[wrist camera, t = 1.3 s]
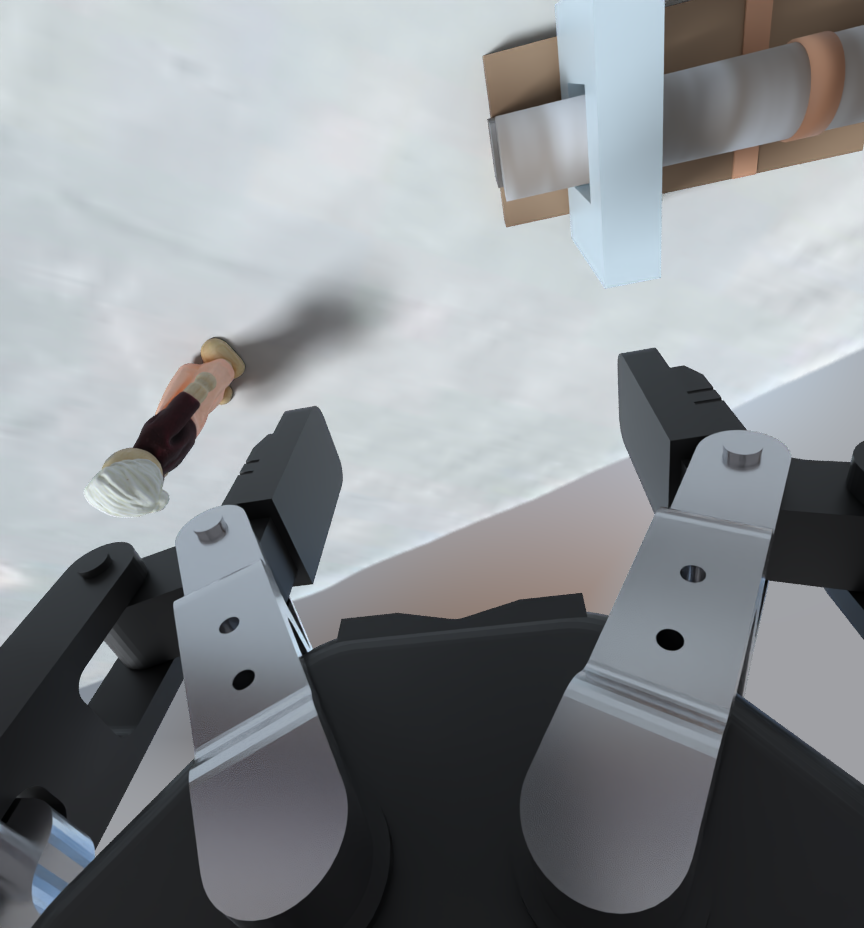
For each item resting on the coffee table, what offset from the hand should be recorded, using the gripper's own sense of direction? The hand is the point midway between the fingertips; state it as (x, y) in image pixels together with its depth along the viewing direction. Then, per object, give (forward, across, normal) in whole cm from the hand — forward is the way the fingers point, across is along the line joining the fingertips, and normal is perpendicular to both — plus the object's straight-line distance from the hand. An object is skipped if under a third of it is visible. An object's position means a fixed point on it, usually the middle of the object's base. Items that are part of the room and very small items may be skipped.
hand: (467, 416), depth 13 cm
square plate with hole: (+18, -6, -3) cm, 19 cm away
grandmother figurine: (+20, +17, +6) cm, 27 cm away
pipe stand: (+20, -10, -3) cm, 22 cm away
